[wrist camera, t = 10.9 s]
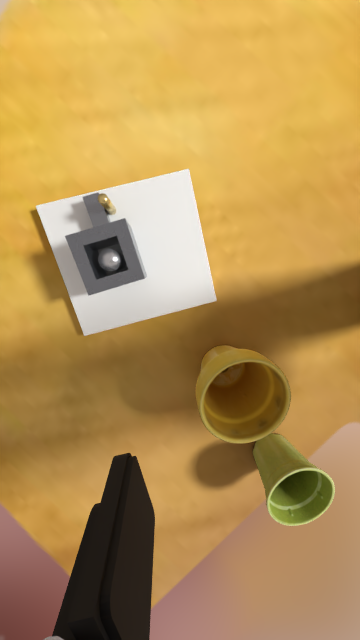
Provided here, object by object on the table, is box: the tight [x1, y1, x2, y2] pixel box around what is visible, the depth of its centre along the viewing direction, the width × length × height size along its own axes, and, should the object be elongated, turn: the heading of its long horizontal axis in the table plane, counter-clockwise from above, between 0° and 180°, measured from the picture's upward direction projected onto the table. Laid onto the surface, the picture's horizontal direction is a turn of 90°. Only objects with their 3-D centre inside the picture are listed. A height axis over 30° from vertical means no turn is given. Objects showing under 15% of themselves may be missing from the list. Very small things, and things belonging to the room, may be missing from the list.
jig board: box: [36, 169, 217, 336], centre depth 28 cm, size 18×16×1 cm
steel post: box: [98, 249, 126, 271], centre depth 25 cm, size 2×2×5 cm
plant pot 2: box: [253, 433, 335, 526], centre depth 34 cm, size 9×9×9 cm
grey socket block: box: [65, 192, 147, 295], centre depth 25 cm, size 10×6×6 cm, turn 16°
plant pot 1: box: [195, 345, 291, 444], centre depth 29 cm, size 10×10×10 cm
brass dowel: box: [98, 193, 116, 215], centre depth 24 cm, size 1×1×4 cm
